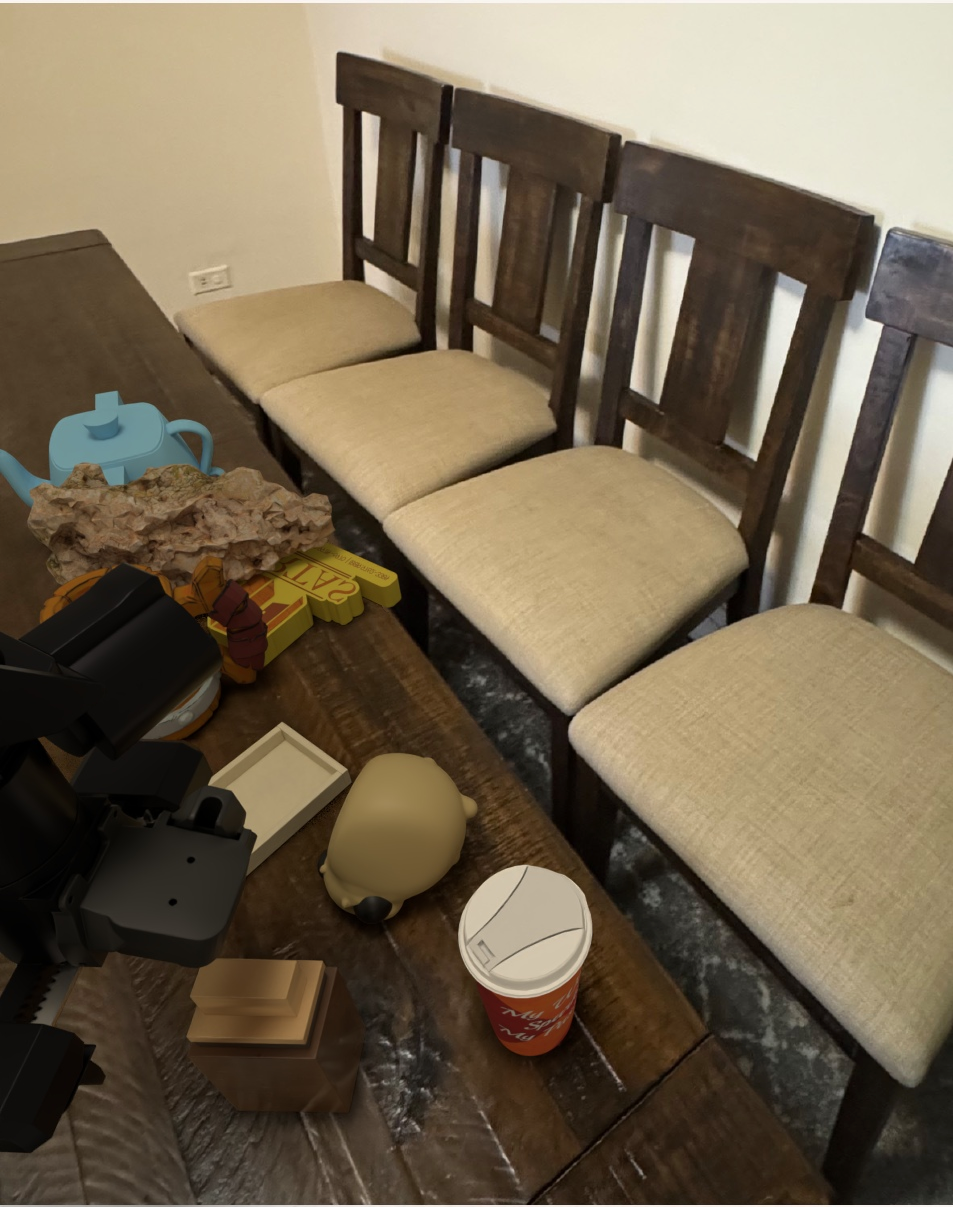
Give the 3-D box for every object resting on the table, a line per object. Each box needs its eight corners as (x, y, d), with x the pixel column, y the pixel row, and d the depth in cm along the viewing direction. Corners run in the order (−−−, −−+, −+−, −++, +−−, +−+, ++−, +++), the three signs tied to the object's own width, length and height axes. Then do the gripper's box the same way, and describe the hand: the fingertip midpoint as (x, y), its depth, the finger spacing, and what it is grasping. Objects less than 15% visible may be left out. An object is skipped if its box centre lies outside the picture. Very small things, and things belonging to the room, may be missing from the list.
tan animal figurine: (374, 849, 69) (261, 863, 60) (440, 729, 67) (334, 726, 58) (442, 933, 64) (329, 962, 55) (517, 806, 62) (412, 815, 53)
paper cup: (521, 1101, 53) (510, 1019, 43) (453, 1005, 57) (429, 911, 47) (613, 1017, 56) (622, 924, 47) (543, 933, 60) (538, 831, 51)
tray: (216, 903, 61) (208, 891, 60) (150, 844, 65) (141, 831, 63) (352, 782, 69) (347, 769, 68) (287, 734, 73) (282, 721, 71)
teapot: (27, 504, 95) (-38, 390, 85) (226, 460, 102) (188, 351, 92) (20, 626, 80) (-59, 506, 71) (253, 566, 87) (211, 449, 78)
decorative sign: (261, 530, 92) (148, 610, 83) (254, 509, 90) (137, 589, 81) (404, 596, 86) (298, 692, 76) (400, 575, 84) (291, 671, 74)
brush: (196, 1048, 45) (169, 1018, 42) (222, 970, 48) (199, 937, 45) (310, 1051, 45) (291, 1021, 42) (329, 973, 48) (313, 940, 45)
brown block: (237, 1110, 52) (186, 1056, 45) (261, 1026, 55) (217, 963, 48) (349, 1113, 52) (315, 1059, 45) (366, 1028, 55) (337, 966, 49)
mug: (94, 676, 76) (19, 552, 66) (280, 636, 81) (238, 514, 70) (85, 769, 69) (-1, 646, 59) (290, 719, 73) (244, 597, 63)
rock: (341, 549, 89) (297, 410, 84) (352, 565, 82) (305, 416, 77) (83, 623, 81) (15, 475, 75) (71, 649, 74) (-5, 487, 69)
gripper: (89, 1091, 27) (222, 1202, 38) (270, 669, 41) (330, 838, 52) (-252, 1077, 27) (-22, 1192, 38) (43, 660, 41) (151, 831, 51)
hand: (135, 986), depth 45 cm, fingers open, 9 cm apart
